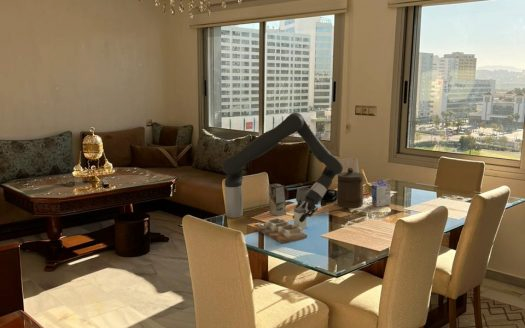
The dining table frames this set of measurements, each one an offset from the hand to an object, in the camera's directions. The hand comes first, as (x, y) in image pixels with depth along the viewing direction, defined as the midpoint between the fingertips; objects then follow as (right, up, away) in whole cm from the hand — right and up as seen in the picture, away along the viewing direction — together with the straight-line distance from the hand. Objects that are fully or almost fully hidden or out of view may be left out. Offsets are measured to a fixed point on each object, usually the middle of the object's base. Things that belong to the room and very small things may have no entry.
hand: (297, 219), depth 243 cm
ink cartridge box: (+52, +4, +38) cm, 64 cm away
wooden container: (+34, +4, +41) cm, 53 cm away
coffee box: (-9, 0, +28) cm, 29 cm away
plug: (+2, -4, +2) cm, 5 cm away
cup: (+7, +3, +41) cm, 42 cm away
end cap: (+23, +6, +52) cm, 57 cm away
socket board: (-8, -6, -6) cm, 12 cm away
